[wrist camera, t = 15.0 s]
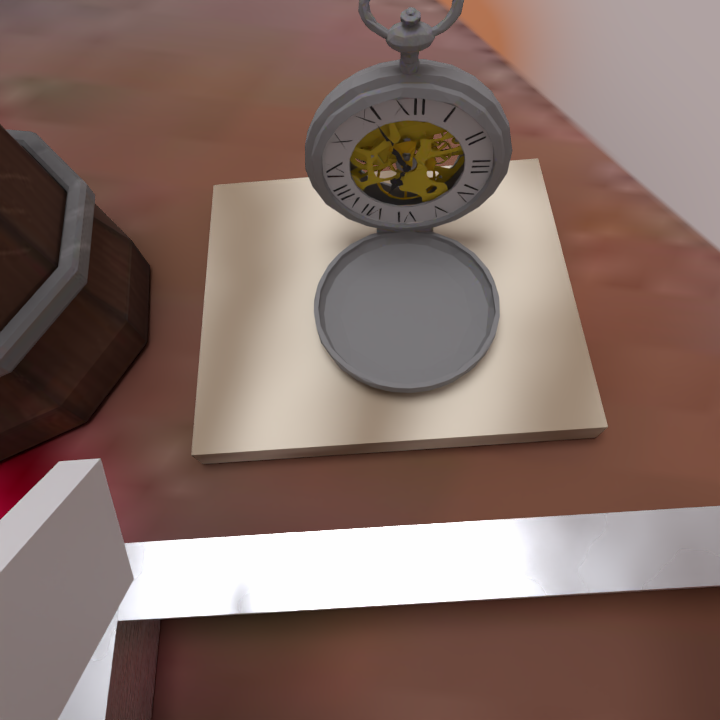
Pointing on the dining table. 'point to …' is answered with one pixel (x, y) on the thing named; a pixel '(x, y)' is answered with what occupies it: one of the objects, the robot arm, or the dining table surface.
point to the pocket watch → (407, 213)
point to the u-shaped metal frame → (384, 578)
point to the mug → (60, 296)
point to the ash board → (340, 390)
